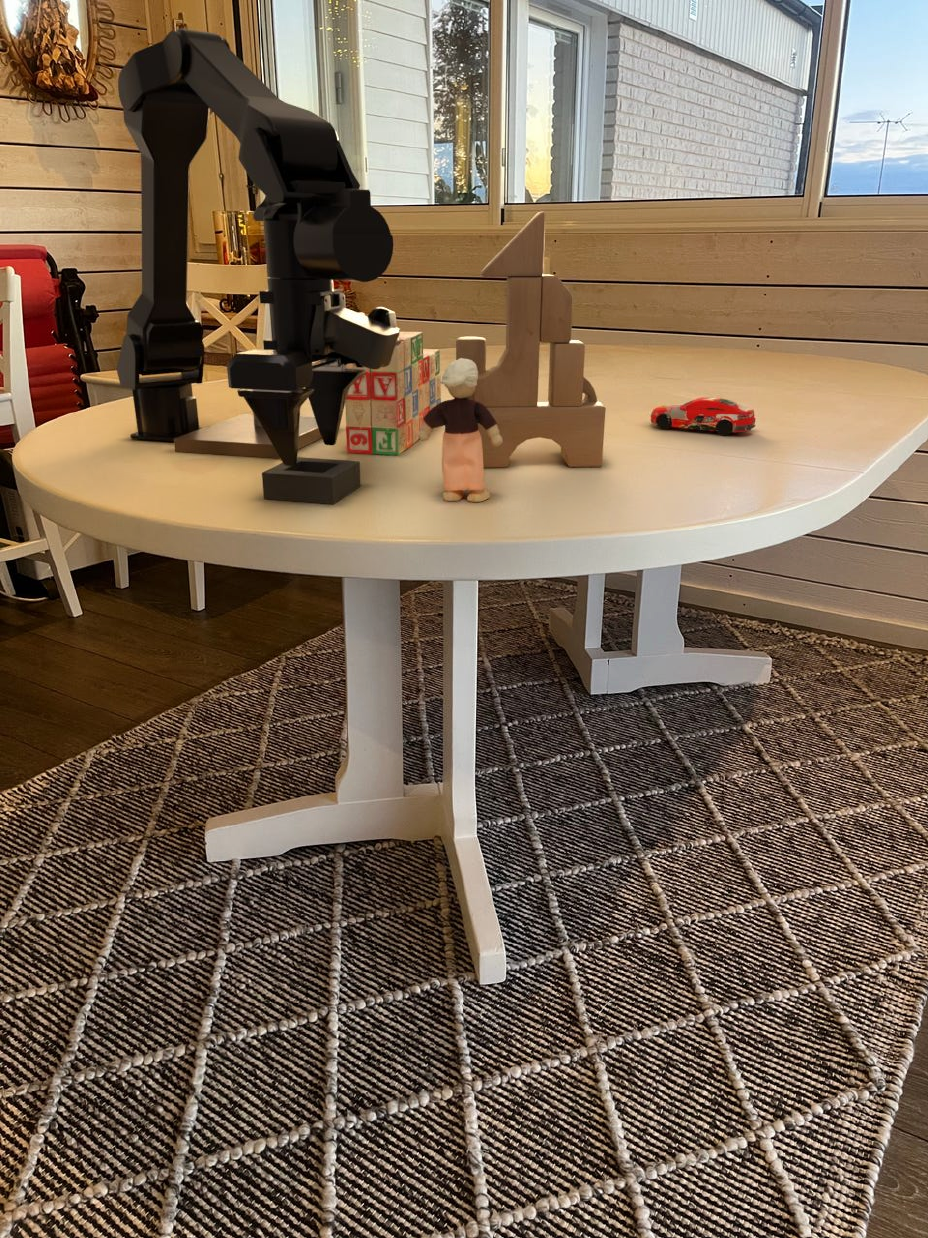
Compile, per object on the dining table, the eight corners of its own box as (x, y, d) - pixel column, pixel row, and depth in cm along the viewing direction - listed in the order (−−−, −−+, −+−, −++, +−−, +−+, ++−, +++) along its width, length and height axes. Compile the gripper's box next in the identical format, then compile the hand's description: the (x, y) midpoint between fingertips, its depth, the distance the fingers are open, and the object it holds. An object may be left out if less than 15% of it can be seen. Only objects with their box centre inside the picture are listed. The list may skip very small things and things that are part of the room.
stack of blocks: (396, 419, 123) (394, 323, 118) (441, 421, 122) (441, 324, 117) (346, 453, 104) (341, 340, 99) (399, 455, 102) (397, 341, 98)
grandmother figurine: (499, 492, 88) (502, 355, 83) (502, 502, 84) (504, 361, 79) (419, 492, 88) (417, 355, 83) (418, 503, 84) (416, 360, 79)
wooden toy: (590, 453, 104) (604, 213, 94) (602, 467, 98) (618, 211, 88) (455, 454, 103) (455, 212, 94) (458, 468, 97) (458, 210, 87)
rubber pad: (263, 498, 85) (261, 472, 84) (295, 481, 91) (293, 456, 90) (333, 504, 84) (332, 477, 83) (360, 486, 90) (359, 460, 89)
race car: (643, 428, 118) (646, 396, 117) (657, 421, 123) (660, 391, 121) (746, 438, 112) (750, 405, 111) (757, 431, 117) (761, 399, 115)
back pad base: (174, 451, 104) (169, 402, 102) (245, 424, 119) (241, 381, 117) (279, 458, 101) (275, 408, 99) (338, 430, 116) (336, 385, 114)
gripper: (346, 284, 70) (355, 484, 76) (420, 275, 87) (422, 440, 93) (215, 281, 73) (233, 475, 79) (311, 274, 89) (320, 434, 95)
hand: (311, 454), depth 86 cm, fingers open, 9 cm apart
